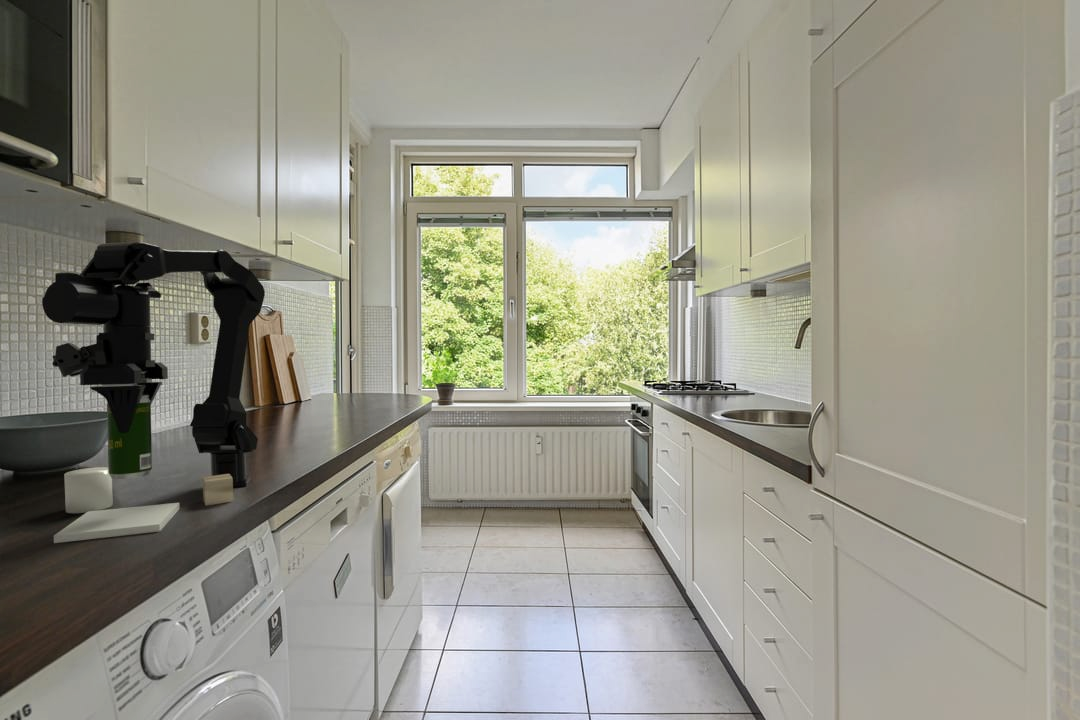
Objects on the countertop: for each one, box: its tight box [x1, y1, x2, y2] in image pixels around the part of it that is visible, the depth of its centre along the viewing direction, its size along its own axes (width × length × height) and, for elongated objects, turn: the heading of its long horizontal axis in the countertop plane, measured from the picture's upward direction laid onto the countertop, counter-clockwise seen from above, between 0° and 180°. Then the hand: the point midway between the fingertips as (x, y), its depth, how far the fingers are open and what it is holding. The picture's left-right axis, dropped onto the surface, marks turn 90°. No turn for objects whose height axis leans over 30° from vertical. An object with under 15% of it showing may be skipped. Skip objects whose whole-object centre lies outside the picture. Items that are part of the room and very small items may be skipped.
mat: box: [53, 502, 181, 544], centre depth 84 cm, size 12×12×1 cm
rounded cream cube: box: [63, 466, 114, 514], centre depth 93 cm, size 6×6×6 cm
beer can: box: [106, 395, 153, 480], centre depth 87 cm, size 5×5×12 cm
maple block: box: [202, 474, 234, 506], centre depth 96 cm, size 4×4×4 cm
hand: (129, 430), depth 87 cm, fingers closed on beer can, 5 cm apart
